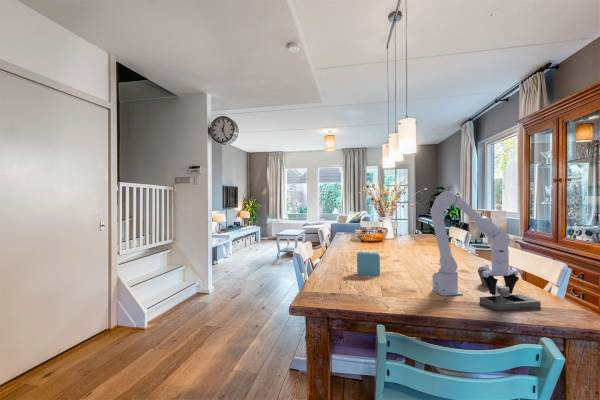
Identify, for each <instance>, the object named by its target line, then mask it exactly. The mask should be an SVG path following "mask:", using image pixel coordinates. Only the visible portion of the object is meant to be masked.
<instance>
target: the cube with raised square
mask: <svg viewBox="0 0 600 400" xmlns="http://www.w3.org/2000/svg"><path fill="white" fill-rule="evenodd" d="M503 295H510V293H509V287H507V286H505V284H500V283H499V284H496V294H495V295H492V294H491V296H503Z"/></svg>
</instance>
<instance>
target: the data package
mask: <svg viewBox="0 0 600 400" xmlns="http://www.w3.org/2000/svg"><path fill="white" fill-rule="evenodd" d="M356 273H357V275H358V276H362V275H363V276H366V277H368V276H370V277H379V276H380V274H381V256H380V253H379V252H377V251H376V252H375V251H374V252H370V251H359V252H357V253H356Z"/></svg>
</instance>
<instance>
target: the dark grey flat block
mask: <svg viewBox="0 0 600 400" xmlns="http://www.w3.org/2000/svg"><path fill="white" fill-rule="evenodd" d="M479 304H480V305H481V306H484V307H486V308H488V309H490V310H493V311H495V312H509V311H522V310H537V309H541V308H542V306H541V300H537V299H535V298H532V297H529V296H527V295H523V294H509V295H503V296H492V295H490V296H480V297H479Z"/></svg>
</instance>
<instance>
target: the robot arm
mask: <svg viewBox="0 0 600 400" xmlns="http://www.w3.org/2000/svg"><path fill="white" fill-rule="evenodd" d="M449 207H455V208H457V209H459V210H461V211H462V212H463V213H464V214H465V215H466V216H468V217H469V218H470V219H471V220H472V221H473V222H474V227H475V228H477V230H479V231H480V232H481V233H482V234H483V235H485V236H486V237H487V238H488V239H489V240H490V242H491V249H490V250H491V269H490V270H489V271H483V279H484V280H485V282H486V284H487V286H488V287H487V286H486V287H487V288H488V289H487V290H488V292H489V294H490V295H491V296H492V295H495V294H496V284H497V283H498V281H499V279H498V278H495V277H503V280H504V285H505V286H507V287H509V295H513V291H514V288H515V285H516V284H517V282H518V281H519V270H517V269H510V262H509V261H510V257H509V255H510V251H509V244H510V242H511V238H510V236H509V234H507V233H506V232H504V231H503V228H502V227H499V226H498V225H497V224H495V222H494V221H493V219H492V218H491V217H488V216H481V215H480V214H479V213H478V212H477V211H475V209H474V208H473V207H472V206H471V205H470V204H469V203H467V202H466V201H465V200H464V199H463V198H461V197H460V196H458V195H456V194H455V193H454V192H452V191H450V190H446V191H442V192H441V193H440V194H439V195H437V197H436V198H435V199H434V202H433V204H432V207H431V208H430V211H429V212H430V216H431V221H432V225H433V230H434V233H435V238H436V241H437V242H436V243H437V246H438V250H439V255H440V257H439V265H440V268H439V269H438V271H437V272H434V273H433V274H432V288H431V290H432V291H433V292H435V293H437V294H438V295H441V296H443V297H444V296H446V297H447V296H456V295H457V296H458V295H459V296H460V295H464V294H463V292H461V291H459V282H458V281H459V279H458V278H459V277H458V276H459V275H458V273H459V272H458V264H457V262H456V260H455V258H454V257H453V254H452V249H451V246H450V240H449V237H448V233H447V229H446V225H445V224H446V223H445V220H444V217H443V216H444V215H443V214H444V213H445V211H447V209H448V208H449Z"/></svg>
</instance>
